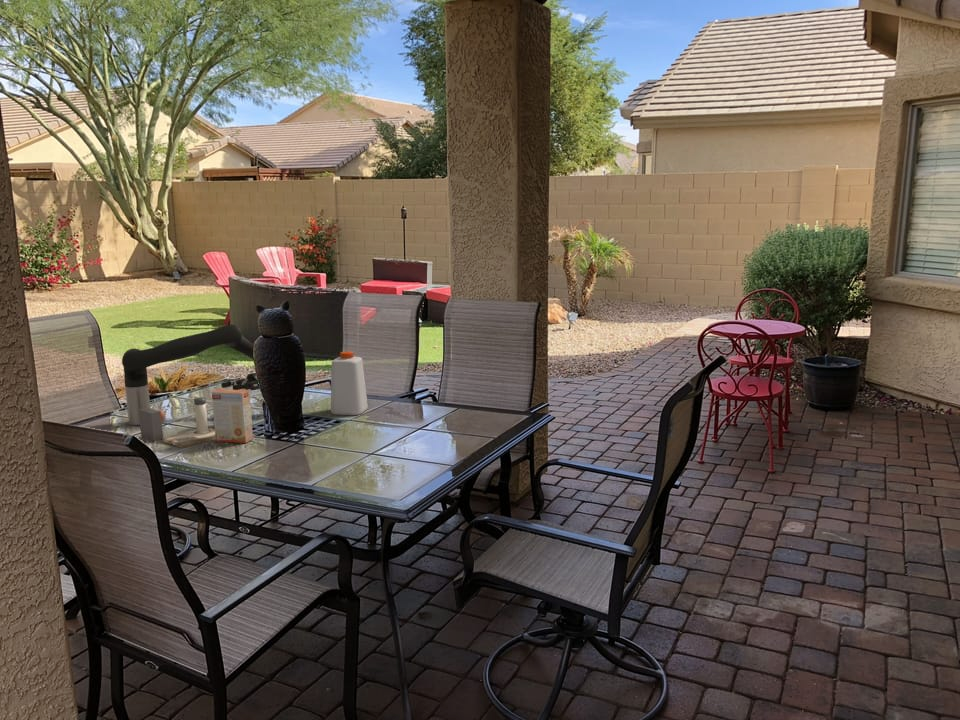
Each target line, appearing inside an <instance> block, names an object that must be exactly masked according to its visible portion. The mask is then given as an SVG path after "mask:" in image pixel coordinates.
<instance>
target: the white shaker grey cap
mask: <svg viewBox="0 0 960 720" xmlns="http://www.w3.org/2000/svg"><path fill="white" fill-rule="evenodd" d="M193 403H194V404H193V405H194V412H195V413H194V414H195V424H196V430H197V432H198V433H204V432H207V431H208V428H209V422H208V414H207V413H208V412H207V398H206V397H204V396H203V397H202V396H201V397H195V398H193Z"/></svg>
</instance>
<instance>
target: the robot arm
mask: <svg viewBox="0 0 960 720" xmlns="http://www.w3.org/2000/svg"><path fill="white" fill-rule="evenodd" d="M222 345H224V346H226V347H229V348H230V349H233V350H235V351H238V352H239V353H241V354H243V355H246V356H247V357H249V358H250V359H252V361H255V360H254V358H253V346H254V345H255V344H254V343H252V342H251V341H250V340H248V339H247V338H246V337H245V336H244V335H243V332H242V329H241V328H240V327H239V326H238V325H236V324H233V323H232V324H226V325H224V326H220V327H217V328H215V329H212V330H209V331H204V332H199V333H196V334H195V333H194V334H190V335H187V336H181V337H178V338H177V337H176V338H174V339H172V340H169V341H166V342H164V343H161V344H159V345H157V346H155V347H151V348H145V349H140V348H129V349H128V350H126V351H125V352H124V353H123V355H122V358H121V363H122V366H123V375H124V388H125V389H124V390H125V397H126V399H125V400H126V409H127V411H126V412H127V419H128V424H129V425H130V426H140V419H139V410H140V409H145V408H150V409H151V402H150V401H151V400H150V390H149V382H148V381H149V380H148V369H147V368H148V367H152V366H154V365H159V364H162V363H168V362H173V361H174V362H175V361H178V360H184V359H186V358H190V357H193V356H197V355H199V354H201V353H202V352H205V351H206V350H208V349H210V348H214V347H217V346H222ZM220 385H221V389H225V388H231V387H232V390H249V391H257V390H261V389H260V387H259V384H258V380H257V375H256V372H252V373H248V374H247V375H246V377H243V378H240V377H238V378H233V379H227V381H226V382H222V383H221V384H220Z"/></svg>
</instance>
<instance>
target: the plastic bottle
mask: <svg viewBox="0 0 960 720" xmlns="http://www.w3.org/2000/svg"><path fill="white" fill-rule="evenodd" d="M363 362H364V361H363V358H362V357H360V356H354V352H353V351H350V350H349V351H341V352H340V353H339V357H336V358H334V359H333V360H332V361H331V376H330V378H331V379H330V381H331V382H330V383H331V384H330V413H331V414H332V415H335V416H359V415H362V414H363V413H364V412H365V411H366V410H368V407H369V405H368V398H367V389H366V381H365V372H364V363H363Z"/></svg>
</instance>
